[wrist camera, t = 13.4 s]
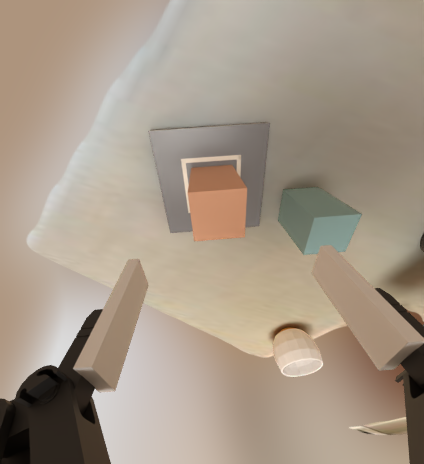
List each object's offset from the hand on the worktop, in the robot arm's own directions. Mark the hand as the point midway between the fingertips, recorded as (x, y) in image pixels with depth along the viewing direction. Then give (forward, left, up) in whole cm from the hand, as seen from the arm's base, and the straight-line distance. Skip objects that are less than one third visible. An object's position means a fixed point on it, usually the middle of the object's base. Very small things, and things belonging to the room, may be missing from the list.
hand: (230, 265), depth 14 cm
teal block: (-15, +5, -19) cm, 25 cm away
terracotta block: (0, 0, -18) cm, 18 cm away
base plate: (0, 0, -19) cm, 19 cm away
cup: (-21, +49, -19) cm, 56 cm away
